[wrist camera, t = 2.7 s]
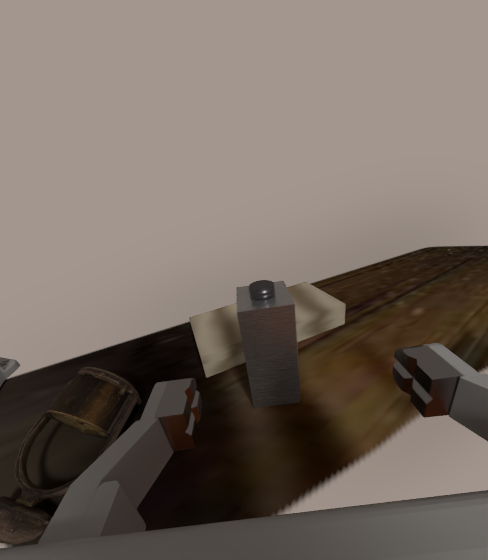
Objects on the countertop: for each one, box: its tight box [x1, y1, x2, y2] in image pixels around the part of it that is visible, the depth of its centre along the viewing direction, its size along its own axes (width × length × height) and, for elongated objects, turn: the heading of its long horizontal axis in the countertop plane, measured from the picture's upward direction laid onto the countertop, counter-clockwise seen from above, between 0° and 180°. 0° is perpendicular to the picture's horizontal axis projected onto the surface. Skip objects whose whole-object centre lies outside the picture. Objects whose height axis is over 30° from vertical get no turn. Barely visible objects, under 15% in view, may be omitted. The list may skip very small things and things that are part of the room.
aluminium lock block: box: [237, 280, 301, 408], centre depth 24 cm, size 5×5×13 cm
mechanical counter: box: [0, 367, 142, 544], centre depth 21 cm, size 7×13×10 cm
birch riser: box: [189, 282, 345, 378], centre depth 35 cm, size 22×10×4 cm, turn 111°
